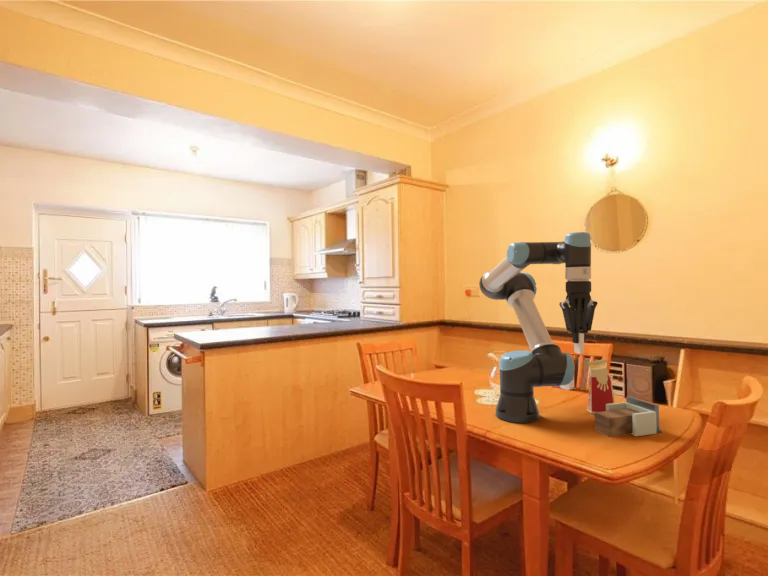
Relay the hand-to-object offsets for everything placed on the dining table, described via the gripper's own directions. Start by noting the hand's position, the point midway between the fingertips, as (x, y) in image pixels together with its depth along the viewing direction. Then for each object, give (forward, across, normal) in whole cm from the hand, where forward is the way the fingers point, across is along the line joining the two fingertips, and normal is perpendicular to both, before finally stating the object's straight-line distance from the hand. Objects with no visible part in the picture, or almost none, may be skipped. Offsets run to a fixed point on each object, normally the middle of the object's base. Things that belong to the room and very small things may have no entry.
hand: (579, 353), depth 132 cm
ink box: (+26, +32, +48) cm, 63 cm away
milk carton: (+26, +22, +15) cm, 37 cm away
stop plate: (+26, +21, -4) cm, 33 cm away
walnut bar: (+26, +12, -4) cm, 29 cm away
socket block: (+26, +16, -3) cm, 31 cm away
